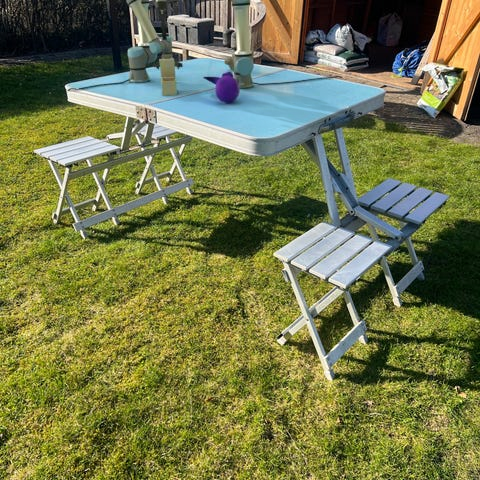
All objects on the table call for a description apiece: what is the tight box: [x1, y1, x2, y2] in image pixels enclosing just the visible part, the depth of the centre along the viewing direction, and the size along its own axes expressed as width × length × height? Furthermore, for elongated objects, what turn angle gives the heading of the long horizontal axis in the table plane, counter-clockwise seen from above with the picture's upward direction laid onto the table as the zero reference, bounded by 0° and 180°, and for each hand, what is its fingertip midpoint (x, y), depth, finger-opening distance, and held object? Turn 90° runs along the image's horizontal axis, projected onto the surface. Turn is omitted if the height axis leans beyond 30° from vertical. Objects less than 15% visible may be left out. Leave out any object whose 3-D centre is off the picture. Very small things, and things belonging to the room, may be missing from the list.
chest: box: [160, 76, 178, 97], centre depth 300 cm, size 13×10×9 cm
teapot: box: [223, 50, 237, 72], centre depth 368 cm, size 21×12×15 cm, turn 120°
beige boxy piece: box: [158, 54, 176, 79], centre depth 299 cm, size 14×10×8 cm
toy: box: [203, 71, 241, 104], centre depth 277 cm, size 16×18×27 cm
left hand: (168, 67), depth 311 cm, fingers open, 13 cm apart
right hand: (164, 38), depth 284 cm, fingers open, 13 cm apart
